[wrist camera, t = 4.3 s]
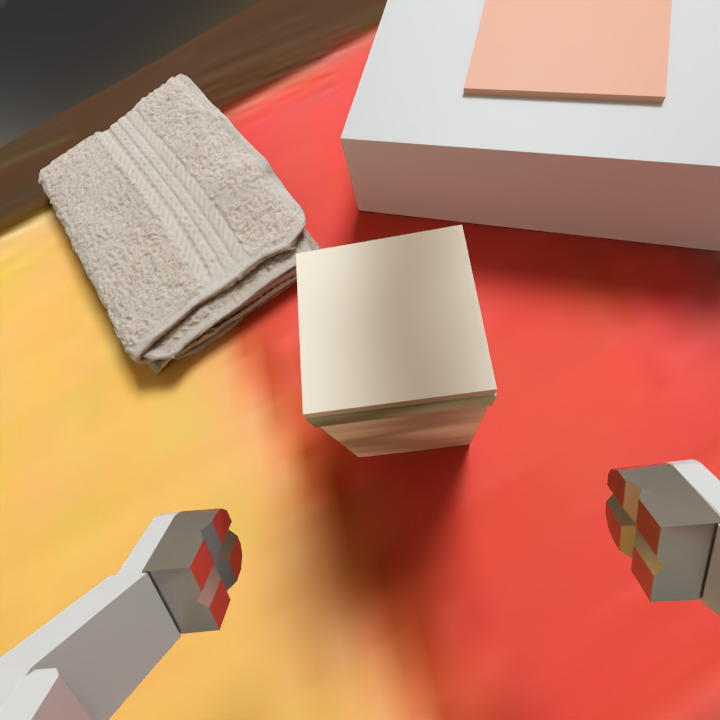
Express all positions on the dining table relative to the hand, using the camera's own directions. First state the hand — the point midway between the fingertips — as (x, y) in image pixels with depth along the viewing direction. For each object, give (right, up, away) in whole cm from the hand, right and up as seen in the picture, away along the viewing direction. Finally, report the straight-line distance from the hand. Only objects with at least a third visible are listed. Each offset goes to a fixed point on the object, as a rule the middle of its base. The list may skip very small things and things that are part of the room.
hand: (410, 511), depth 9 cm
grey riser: (+9, +16, +15) cm, 24 cm away
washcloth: (-12, +12, +18) cm, 24 cm away
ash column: (+1, +2, +11) cm, 11 cm away
